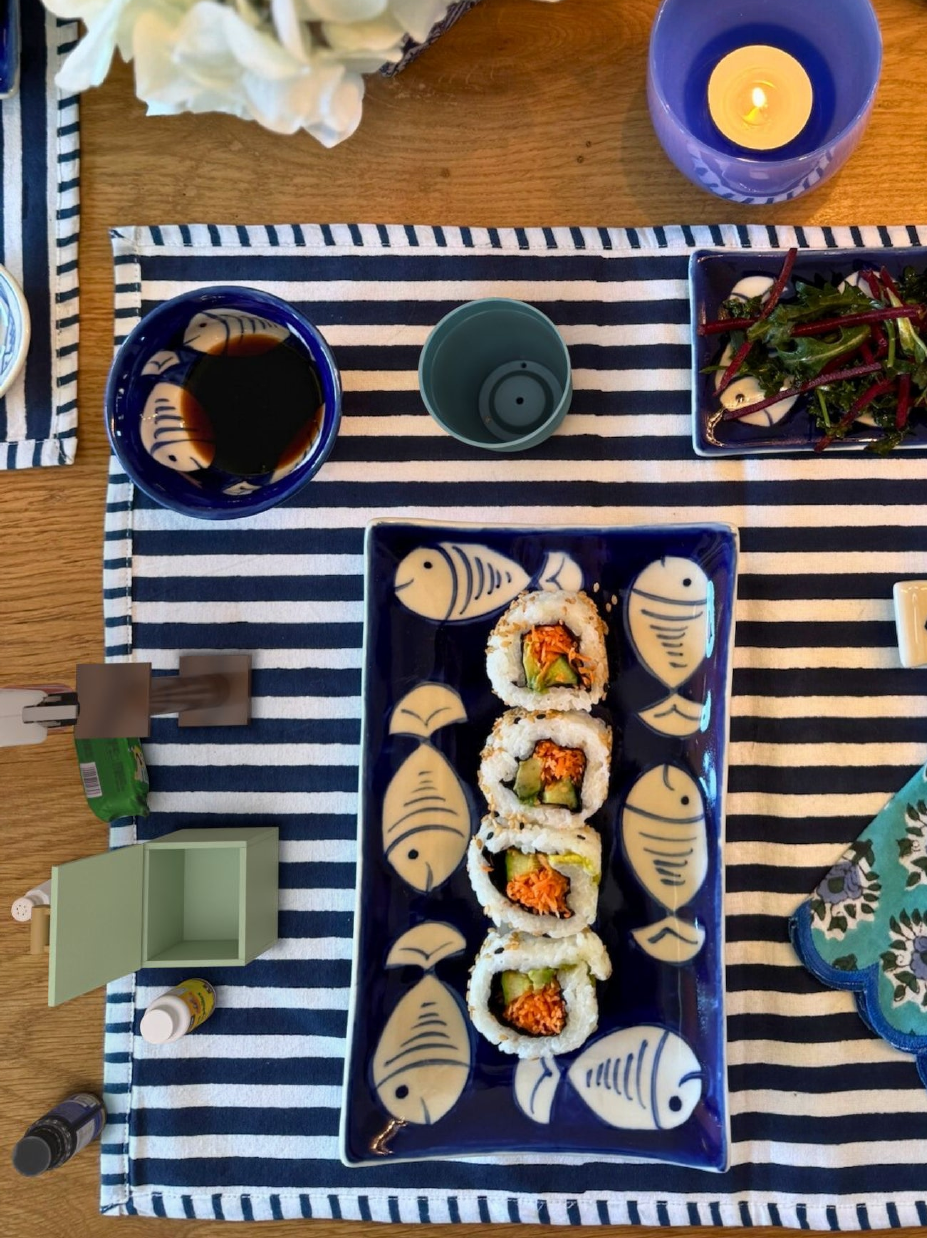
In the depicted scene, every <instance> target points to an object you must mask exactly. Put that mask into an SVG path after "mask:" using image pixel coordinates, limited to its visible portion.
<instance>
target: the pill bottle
mask: <svg viewBox="0 0 927 1238" xmlns="http://www.w3.org/2000/svg"><path fill="white" fill-rule="evenodd" d="M107 1120H108V1110H107V1107H106V1106H105V1103H104V1101H103V1100H102V1099H101V1098H100V1097H99V1096H97V1094H95V1093H92V1092H89V1091H81V1092H76V1093H74V1094H72V1095H70V1096H68V1097H67V1098H65V1100H63V1101H62V1102H60V1103H58V1104H57V1105H56V1106H55V1107H53V1108H52V1109H51V1110H49V1111H48V1112H46V1113H45V1114H44V1115H42V1116H41V1117H39V1118H38V1119H37V1120H35V1121H34V1122H33V1123H32V1124H31V1125H29V1126H28V1128H27V1129H26V1131H25V1132H24V1135H23V1137H22V1138H21V1139H19V1140H18V1141H17V1142H16V1144H15V1145H14V1147H13V1149H12V1153H11V1163H12V1165H13V1168H14V1169H15V1170H16V1172H17V1173H18V1174H20V1175H21V1176H22V1177H26V1178H36V1177H38V1176H41V1175H43V1174H44V1173H45V1172H48V1171H54V1170H56V1169H59V1168H60V1167H62V1166H63V1165H65V1164H66V1163H67V1162H68V1161H69V1160H71V1159H72V1158H73V1157H74V1156H75V1155H76V1154H78V1153H79V1152H80V1151H81V1150H83V1149H84V1148H85V1147H87V1145H88V1144H90V1143H91V1142H92V1141H93V1140H94V1139H96V1138H97V1137H99V1136H100V1134H101V1133H102V1132H103V1131H104V1129H105V1126H106V1124H107Z"/></svg>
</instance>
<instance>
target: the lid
mask: <svg viewBox="0 0 927 1238" xmlns="http://www.w3.org/2000/svg"><path fill="white" fill-rule="evenodd" d="M50 879H51V907H50V905H49V904H41V905H36V906H33V907H32V908H31V919H30V938H29V939H30V943H29V949H30V950H29V954H30V955H34V956H38V955H43V954H44V955H45V954H47V953H49V954H48V955H49V957H48V986H47V988H48V989H47V992H48V993H47V1007H52V1008H53V1007H54V1008H55V1007H57V1006H59V1005H62V1004H64V1003H66V1002H68V1001H71V1000H73V999H76V998H77V997H80V996H82V995H84V994H87V993H89V992H91V991H93V990H96V989H98V988H100V987H101V988H102V987H103V986H106V985H108V984H110V983H112V982H114V981H117V980H119V979H121V978H123V977H126V976H128V975H130V974H133V973H136V972H137V971H141V969H142V968H141V929H142V881H143V843H135V844H131V845H127V846H124V847H120V848H116V849H111V850H109V851H105V852H101V853H97V854H94V855H90V856H85V857H82V858H79V859H75V860H72V861H67V862H63V863H60V864H57V865H52V866H51V878H50Z"/></svg>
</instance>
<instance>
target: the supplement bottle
mask: <svg viewBox="0 0 927 1238" xmlns="http://www.w3.org/2000/svg"><path fill="white" fill-rule="evenodd" d="M216 1006H217V994H216V991H215V989H214V987H213V985H212V984H211V983H210V982H208V981H207V980H205V979H203V978H197V977H196V978H195V977H193V978H189V979H187V980H185V981H183V982H181V983H180V984H178V985H176V986H175V987H173V988H171V989H170V990H168V991H167V992H165V993H163V994H162V995H160V996H158V997H157V998H155V999H154V1000H153V1001H152V1002H151V1003H149V1005H148V1006H147V1007H146V1010H145V1011H144V1015H143V1017H142V1018H141V1021H140V1025H139V1030H140V1034H141V1036H142V1038H143V1039H144V1040H145V1041H146V1042H148V1043H150V1044H153V1045H159V1044H164V1045H165V1044H167V1045H168V1044H173V1043H175V1042H177V1041H178V1040H180V1039H181V1038H183V1037H185V1036H186V1035H187V1034H188V1033H190V1032H191V1031H192V1030H194V1029H195V1028H197V1027H198V1026H199V1025H201V1024H202V1023H204V1022H205V1021H206V1020H207V1019H208V1018H210V1017H211V1016H212V1014H213V1013H214V1011H215V1008H216Z"/></svg>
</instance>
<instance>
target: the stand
mask: <svg viewBox="0 0 927 1238" xmlns="http://www.w3.org/2000/svg"><path fill="white" fill-rule="evenodd" d="M252 656H253V655H252V654H230V655H229V654H227V655H226V654H225V655H191V656H190V655H189V656H188V655H187V656H186V655H185V656H179V662H178V664H179V665H178V675H169V676H153V677H152V670H153V662H152V661H147V662H146V661H145V662H144V661H143V662H142V661H141V662H103V663H102V662H101V663H100V662H99V663H98V662H97V663H76V664H75V692H77V693H78V698H79V702H80V714H79V716H78V718H77V724H76V725H75V729H74V734H73V740H74V739H87V738H130V737H139V738H150V737H151V724H152V723H151V718H152V717H154V716H161V715H168V714H169V715H170V714H178V717H177V719H178V720H177V726H178V727H216V726H217V727H219V726H220V727H221V726H248V725H249V726H250V725H251V724H252V669H253V667H252V666H253V665H252V663H253V662H252V661H253V657H252Z"/></svg>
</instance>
